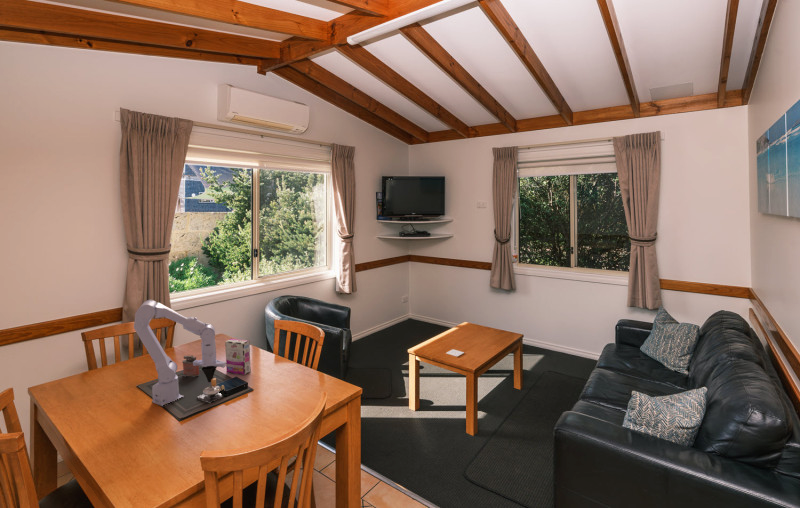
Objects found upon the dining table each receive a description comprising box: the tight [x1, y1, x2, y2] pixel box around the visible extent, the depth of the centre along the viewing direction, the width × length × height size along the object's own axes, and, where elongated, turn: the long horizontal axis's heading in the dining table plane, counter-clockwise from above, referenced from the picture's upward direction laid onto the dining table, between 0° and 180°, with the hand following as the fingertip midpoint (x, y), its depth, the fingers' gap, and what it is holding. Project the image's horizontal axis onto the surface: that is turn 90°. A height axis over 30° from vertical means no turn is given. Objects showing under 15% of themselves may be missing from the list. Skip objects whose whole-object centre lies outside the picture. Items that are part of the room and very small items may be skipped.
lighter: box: [181, 355, 200, 377], centre depth 198 cm, size 8×3×10 cm, turn 84°
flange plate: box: [202, 377, 222, 395], centre depth 176 cm, size 8×7×4 cm
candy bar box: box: [224, 338, 252, 376], centre depth 202 cm, size 11×5×16 cm, turn 73°
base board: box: [196, 384, 225, 402], centre depth 176 cm, size 9×9×4 cm
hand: (210, 381), depth 180 cm, fingers closed
